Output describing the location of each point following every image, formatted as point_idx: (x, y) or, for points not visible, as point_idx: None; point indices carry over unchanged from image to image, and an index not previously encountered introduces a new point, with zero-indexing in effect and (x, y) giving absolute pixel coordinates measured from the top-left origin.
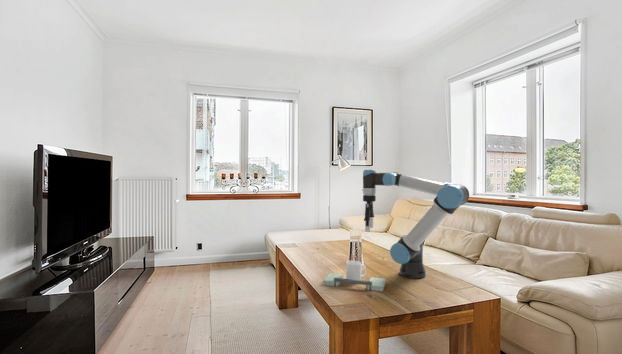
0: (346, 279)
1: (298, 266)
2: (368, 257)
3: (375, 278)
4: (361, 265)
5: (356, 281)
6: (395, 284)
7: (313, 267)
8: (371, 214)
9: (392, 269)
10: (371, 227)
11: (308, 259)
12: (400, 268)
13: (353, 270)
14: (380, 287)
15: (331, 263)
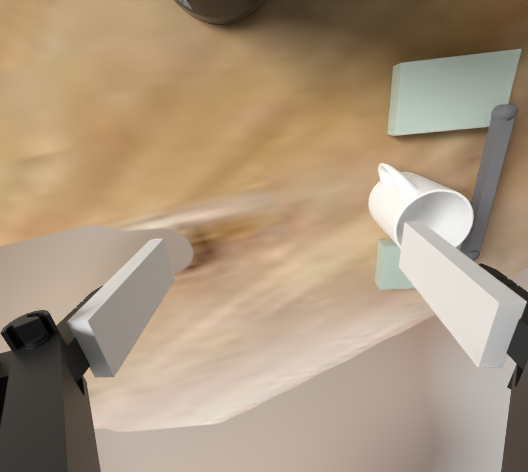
0: (484, 215)
1: (296, 382)
2: (72, 221)
3: (408, 110)
4: (417, 187)
5: (497, 173)
6: (401, 10)
7: (290, 348)
8: (72, 394)
9: (184, 75)
10: (166, 255)
11: (216, 382)
12: (238, 4)
13: (456, 208)
14: (515, 61)
15: (224, 317)
